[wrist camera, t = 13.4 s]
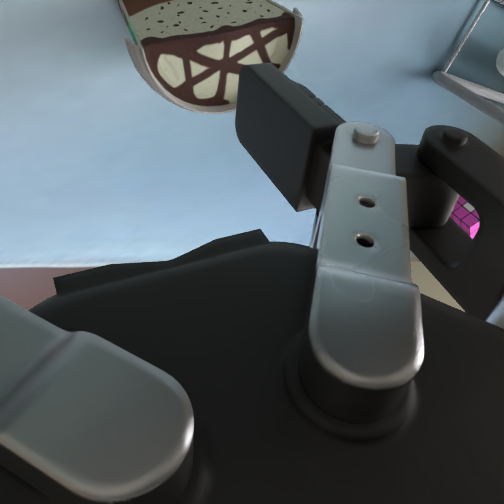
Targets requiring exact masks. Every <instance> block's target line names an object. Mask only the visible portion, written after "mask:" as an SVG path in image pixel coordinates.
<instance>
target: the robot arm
mask: <svg viewBox="0 0 504 504" xmlns="http://www.w3.org/2000/svg"><path fill="white" fill-rule="evenodd" d="M235 126H236V133H237V136H238V139H239V141H240V143H241V144H242V145H243V147H244V148H245V149H246V150H247V152H248V153H249V154H250V155H251V156H252V158H253V159H254V160H255V161H256V163H257V164H258V165H259V166H260V168H261V169H262V170H263V171H264V172H265V174H266V175H267V176H268V177H269V179H270V180H271V181H272V182H273V184H274V185H275V186H276V187H277V188H278V190H279V191H280V192H281V193H282V195H283V196H284V197H285V198H286V200H287V201H288V202H289V203H290V204H291V206H292V207H293V208H294V209H295V211H296V212H299V211H303V210H308V209H312V208H316V209H317V210H316V214H315V219H314V223H313V229H312V234H311V240H310V245H309V247H308V246H305V245H300V244H295V243H288V242H269V240H268V239H267V237H266V236H265V235H264V233H263V232H262V230H261V229H257V230H253V231H249V232H244V233H240V234H236V235H232V236H228V237H223V238H219V239H215V240H213V241H211V242H209V243H207V244H205V245H202V246H200V247H198V248H196V249H194V250H192V251H190V252H188V253H186V254H183V255H181V256H179V257H177V258H175V259H172V260H169V261H159V262H141V263H124V264H110V265H105V266H101V267H97V268H93V269H89V270H84V271H80V272H76V273H72V274H67V275H64V276H59V277H55V278H53V279H54V284H55V288H56V292H57V294H56V295H54V296H52V297H50V298H48V299H46V300H44V301H43V302H41V303H39V304H37V305H36V306H34V307H33V308H31V309H30V310H29V311H28V310H26V309H24V308H22V307H20V306H18V305H17V304H15V303H13V302H11V301H9V300H7V299H6V298H4V297H2V296H0V504H504V158H503V157H502V156H501V155H499V154H498V153H497V152H495V151H494V150H493V149H491V148H490V147H489V146H487V145H486V144H485V143H483V142H482V141H481V140H479V139H478V138H477V137H475V136H474V135H472V134H470V133H469V132H467V131H464V130H462V129H459V128H456V127H451V126H445V125H436V126H431V127H428V128H427V129H426V130H425V131H424V134H423V136H422V139H421V142H420V144H419V145H407V144H395V141H394V138H393V136H392V135H391V134H390V133H389V132H388V131H386V130H385V129H383V128H381V127H379V126H377V125H374V124H370V123H366V122H357V121H356V122H345V121H344V120H343V119H342V118H341V117H340V116H339V115H337V114H336V113H335V112H334V111H333V110H332V109H330V108H329V107H328V106H327V105H324V102H322V101H321V100H320V99H319V98H316V96H315V95H314V94H313V93H312V92H311V91H310V90H309V89H307V88H306V87H305V86H303V85H301V84H299V83H296V82H294V81H292V80H290V79H289V78H288V77H287V76H286V75H284V74H283V73H282V72H281V71H280V70H279V69H278V68H276V67H275V66H274V65H273V64H272V63H260V64H249V65H243V66H242V67H241V69H240V73H239V81H238V93H237V106H236V118H235ZM459 196H461V197H462V198H463V199H465V200H466V201H467V202H468V203H469V204H470V205H471V206H472V207H474V209H475V210H476V211H477V213H478V216H479V220H480V224H479V229H478V231H477V233H476V234H475V236H474V238H473V239H472V238H471V237H470V236H469V235H468V234H467V233H466V232H465V231H464V230H463V229H462V228H461V227H460V226H459V225H458V224H457V223H455V222H454V221H453V220H452V219H451V218H450V217H449V216H450V214H451V212H452V210H453V208H454V206H455V204H456V202H457V200H458V198H459ZM410 250H411V251H412V252H413V253H414V254H415V255H416V257H417V258H418V259H419V260H420V261H421V262H422V263H423V264H424V266H425V267H426V268H427V269H428V270H429V271H430V272H431V273H432V275H434V277H435V278H436V279H437V280H438V281H439V282H440V284H441V285H442V286H443V287H444V288H445V289H446V290H447V291H448V292H449V294H450V295H451V296H452V297H453V298H454V299H455V300H456V302H457V303H458V304H459V305H460V306H461V307H462V308H463V309H464V310H465V312H463V311H461V310H459V309H456V308H454V307H451V306H449V305H447V304H444V303H442V302H440V301H437V300H435V299H433V298H430V297H428V296H426V295H423V294H421V293H420V291H419V288H418V286H417V285H415V284H413V283H412V279H411V262H410Z"/></svg>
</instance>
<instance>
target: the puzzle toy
mask: <svg viewBox="0 0 504 504" xmlns="http://www.w3.org/2000/svg"><path fill="white" fill-rule="evenodd" d="M449 217H450V218H451V219H452V220H453V221H454V222H455V223H457V224H458V225H459V226H460V227H461V228H462V229H463V230H464V231H465V232H466V233H467V234H468V235H469V236H470V237H471V238H472V239H473V238H474V236H475V234H476V233H477V231H478V229H479V224H480V220H479V216H478V213H477V211H476V210H475V209H474V207H472V206H471V205H470V204H469V203H468V202H467V201H466V200H465V199H463V198H462V197H461V196H459V198H458V200H457V202H456V204H455V206H454V208H453V210H452V212H451V214H450V216H449Z"/></svg>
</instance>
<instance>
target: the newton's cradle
mask: <svg viewBox="0 0 504 504" xmlns="http://www.w3.org/2000/svg"><path fill="white" fill-rule="evenodd" d="M489 1H490V0H486V1H485V2H484V4H483V6H482V7H481V9H480V11H479V12H478V14H477V16H476V17H475V19H474V21H473V22H472V24H471V26H470V27H469V29H468V30H467V32H466V34H465V35H464V37H463V39H462V40H461V42H460V44H459V45H458V47H457V49H456V50H455V52H454V54H453V55H452V57H451V59H450V60H449V62H448V63H447V65H446V67H445V68H444V70H443V71H436V72H435V73H434V74H433V80H434V81H435V82H436V83H438V84H439V85H441V86H442V87H444V88H446V89H447V90H449V91H450V92H452V93H453V94H455V95H457V96H458V97H460V98H461V99H463V100H465V101H466V102H468V103H469V104H471V105H472V106H474V107H476V108H477V109H479V110H480V111H482V112H483V113H485V114H487V115H488V116H490V117H491V118H493V119H494V120H496V121H498V122H499V123H501V124H502V125H504V110H502V109H500V108H499V107H497V106H496V105H494V104H492V103H491V102H489V101H487V100H486V99H484V98H482V97H481V96H483V97H486V98H489V99H491V100H494V101H497V102H500V103H503V104H504V94H503V93H500V92H498V91H495V90H492V89H489V88H487V87H484V86H481V85H478V84H476V83H473V82H470V81H468V80H465V79H462V78H459V77H457V76H454V75H451V74H448V73H446V72H447V70H448V68H449V67H450V65H451V64H452V62H453V60H454V59H455V57H456V55H457V54H458V52H459V50H460V49H461V47H462V46H463V44H464V42H465V41H466V39H467V37H468V36H469V34H470V32H471V31H472V29H473V28H474V26H475V24H476V23H477V21H478V19H479V18H480V16H481V14H482V13H483V11H484V10H485V8H486V6H487V5H488V3H489ZM495 1H497V2H499V3H501V4H502V5H504V0H495ZM496 66H497V69H498V71H499V72H500V73H501V74H502V75H503V76H504V48H503V49H502V50H501V51H500V52H499V54H498V56H497V59H496ZM479 95H480V96H479Z"/></svg>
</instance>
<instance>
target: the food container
mask: <svg viewBox="0 0 504 504" xmlns="http://www.w3.org/2000/svg"><path fill="white" fill-rule="evenodd" d="M118 1H119V5H120V9H121V12H122V14H123V17H124V19H125V21H126V23H127V26H128V28H129V30H130V33H131V35H132V37H133V39H134V42H135V43H133V42H132V41H131V40H129V39H128V38H125V42H126V45H127V49H128V52H129V55H130V57H131V59H132V61H133V64H134V66H135V68H136V69H137V71H138V72H139V74H140V75H141V77H142V78H143V79H144V80H145V82H146V83H147V84H148V85H149V86H150V87H151V88H152V89H153V90H154V91H156V92H157V93H158V94H160V95H161V96H162V97H164V98H165V99H167V100H168V101H170V102H172V103H173V104H175V105H177V106H179V107H181V108H184V109H187V110H190V111H193V112H200V113H207V114H219V113H225V112H231V111H234V110H236V106H237V93H238V81H239V73H240V69H241V67H242V66H243V65H249V64H260V63H272V64H273V65H274V66H275V67H276V68H278V69H279V70H280V71H281V72H282V73H283V74H284V72H285V71H286V69H287V68H288V66H289V64H290V62H291V60H292V59H293V57H294V54H295V52H296V49H297V47H298V44H299V40H300V36H301V32H302V26H303V18H302V14H301V13H300V12H299V11H298V10H297V8H294V10H293V12H292V11H290V10H288V9H286V8H284V7H283V6H281V5H279V4H277V3H275V2H274V1H272V0H118Z"/></svg>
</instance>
